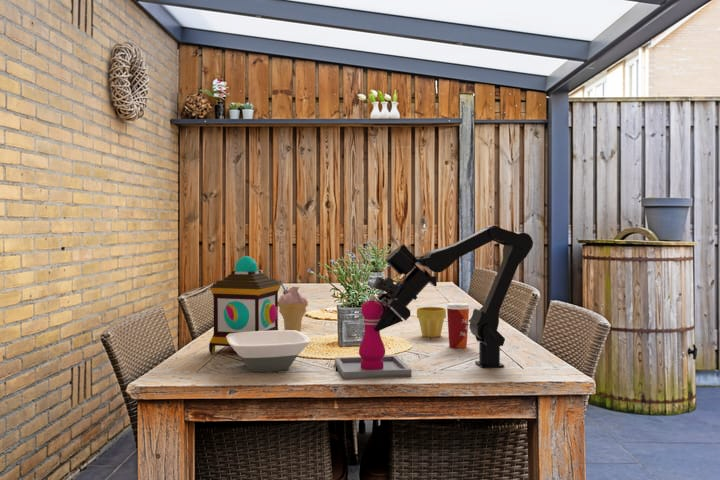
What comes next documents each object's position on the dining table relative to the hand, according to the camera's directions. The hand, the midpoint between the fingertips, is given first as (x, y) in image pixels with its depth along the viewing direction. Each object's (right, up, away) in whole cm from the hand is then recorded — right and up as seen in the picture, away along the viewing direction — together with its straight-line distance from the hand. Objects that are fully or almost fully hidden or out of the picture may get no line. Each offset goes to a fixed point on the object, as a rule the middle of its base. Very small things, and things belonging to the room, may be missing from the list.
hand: (371, 327), depth 173 cm
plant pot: (+22, -10, +54) cm, 59 cm away
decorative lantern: (-39, -11, +27) cm, 49 cm away
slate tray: (0, -12, 0) cm, 12 cm away
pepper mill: (0, -11, 0) cm, 11 cm away
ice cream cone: (-27, -10, +53) cm, 60 cm away
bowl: (-29, -12, +4) cm, 32 cm away
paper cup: (+29, -11, +34) cm, 46 cm away
